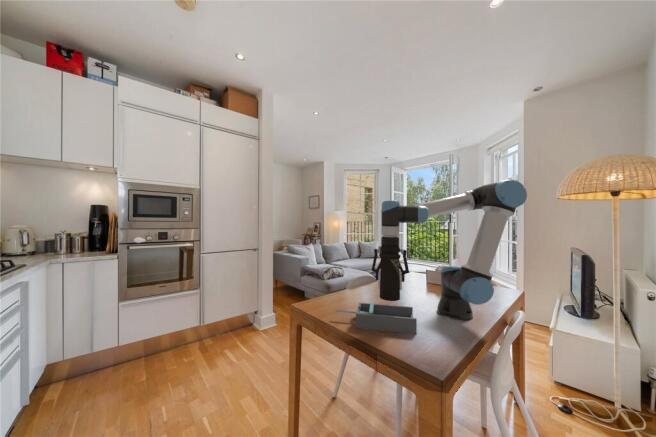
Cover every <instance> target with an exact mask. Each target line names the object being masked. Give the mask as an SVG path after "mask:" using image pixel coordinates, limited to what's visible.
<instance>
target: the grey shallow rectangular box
mask: <svg viewBox="0 0 656 437" xmlns="http://www.w3.org/2000/svg"><path fill="white" fill-rule="evenodd" d="M370 304H372V303H370V302H369V303H368V302H358V306H357V309H356V311H357V312H356V313H355V329H362V330H371V331H378V332H379V331H381V332H388V333H399V334H409V335H417V334H418V333H417V332H418V330H417V326H418V324H417V322H418V320H417V319H418V318H417V317H414V315H413V313H414V312H413V310H414V309H413V306H405V305H394V304H381V303H373V304H374V314H364V313H360V312H369V310H370Z"/></svg>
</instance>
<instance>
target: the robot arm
mask: <svg viewBox="0 0 656 437" xmlns="http://www.w3.org/2000/svg"><path fill="white" fill-rule="evenodd" d="M527 197H528V192H527V188H525V186H524V185H523V183H522V182H520V181H519V180H516V179H502V180H500V181H497V182H491V183H488V184H485V185H482V186H479V187H476V188H473V189H471V190H467V191H466V190H465V191H464V192H463V193H462V194H458V195H454V196H448V197H445V198H439V199H435V200H432V201H431V200H430V201H427V202H422V203H421V202H420V203H417V204H413V205H400V201H398V200H384V201H382V203H381V211H380V213H381V225H380V226H381V227H380V228H381V229H380V232H381V233H380V235H381V239H380V240H381V241H380V243H381V244H380V248H374V249H373V252H374V256H373V260H372V266H371V271H372V272H374V273H375V281H378V283H377V285H378V286H377V287H378V289H379V290H380V269H381V260H379V263H378V265H377V267H376V263H377V259H378V254H380V253H384V254H385V253H393V254H400V255H402V260H403V264H404V268H405V270H404V269H403V267H402V264H401V262H400V261H399V272H400V291H402V290H403V285H402V284H403V283H404V282H405V276H406V274H410V270H409V264H408V259H407V258H408V257H407V253H408V252H407V250H406V249H401V248H400V237H399V236H400V224H404V223H405V224H406V223H407V224H424V223H426V222H427V221H428V219H429V218H432V217H436V216H441V215H446V214H450V213H455V212H459V211H466V210H467V211H475V210H482V211H483V216H482V218H481V222H480V225H479V228H478V230H477V233H476V235H475V236H476V237H475V240H474V242H473V245H472V248H471V250H470V253H469V256H468V259H467V261H466V263H464V264H463V265H461V266H459V265H458V266H457V265H443V266H442V267H441V271H440V278H441V279H440V281H441V282H440V283H441V284H440V285H441V286H440V290H441V291H440V293H441V296H440V298H439V301H438V304H437V307H436V309H437V310H436V311H437V314H440V315H441V316H444V317H446V318H449V319H455V320H471V319H472V318H473V315H474V314H473V309H472V306H471V304H472V305H483V304H486V303H488V302H489V301H490V300H491V299H492V298H493V296H494V293H495V288H494V285H493V283H492V278H493V274H492V273H491V268H492V265H493V263H494V260H495V256H496V253H497V250H498V247H499V246H500V242H501V240H502V236H503V234H504V230H505V229H506V228H505V227H506V225H507V222H508V219H509V218H511V217H513V216H514V215H515V212H516V209H517V208H518V207H520V206H522V205H524V204H525V203H526V201H527Z"/></svg>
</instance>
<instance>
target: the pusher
mask: <svg viewBox="0 0 656 437" xmlns="http://www.w3.org/2000/svg"><path fill="white" fill-rule="evenodd" d="M374 304H375V303H371V304H370V310H369V312H360V313H364V314H374ZM335 311H336V312H335V313H345V314H346V313H348V314H356V312H357V310H346V309H336V310H335Z"/></svg>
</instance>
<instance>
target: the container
mask: <svg viewBox="0 0 656 437" xmlns="http://www.w3.org/2000/svg"><path fill="white" fill-rule="evenodd" d="M378 254H379V258H380V261H381V268H380V270H379V272H380V289H379V299H381V300H383V301H386V302H387V301H388V302H398V301H400V299H401V290H400V273H401V271H400V269H399V262H400V259H401V257H402V256H401V253H398V254H393V253H385V254H384V253H382V252H379V253H378Z"/></svg>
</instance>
